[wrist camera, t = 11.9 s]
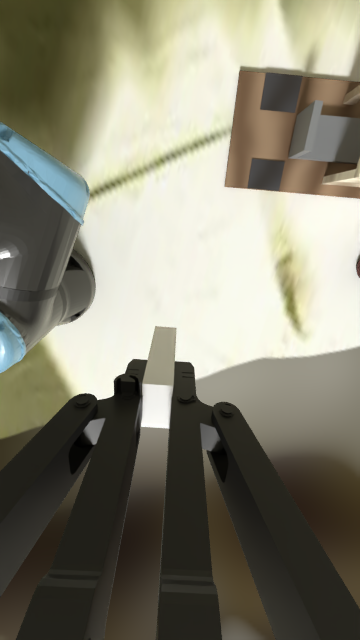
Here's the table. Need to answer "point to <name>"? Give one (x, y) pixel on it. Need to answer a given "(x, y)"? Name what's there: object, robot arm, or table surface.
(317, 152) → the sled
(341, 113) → the tunnel board
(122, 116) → the table surface
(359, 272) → the can
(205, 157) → the table surface
